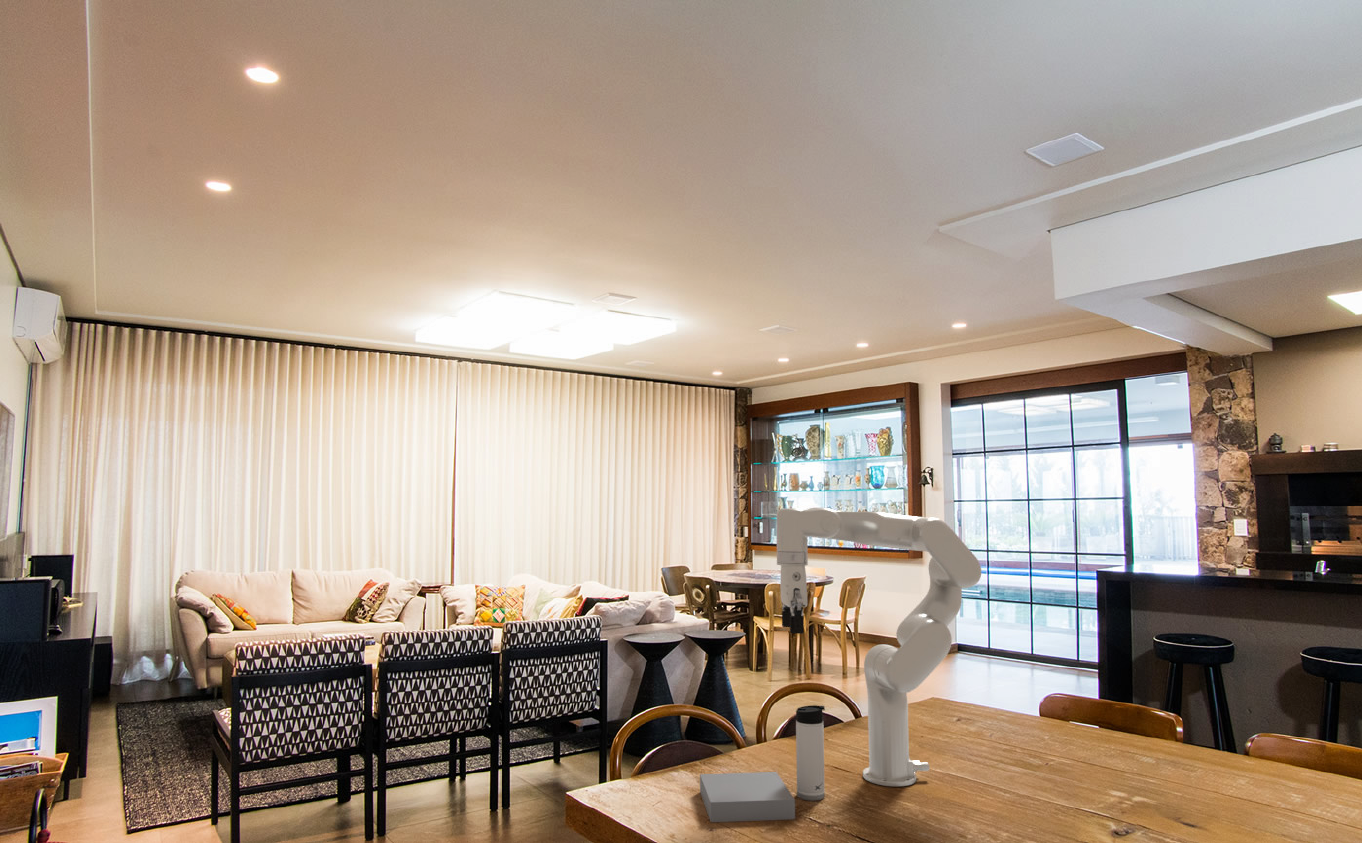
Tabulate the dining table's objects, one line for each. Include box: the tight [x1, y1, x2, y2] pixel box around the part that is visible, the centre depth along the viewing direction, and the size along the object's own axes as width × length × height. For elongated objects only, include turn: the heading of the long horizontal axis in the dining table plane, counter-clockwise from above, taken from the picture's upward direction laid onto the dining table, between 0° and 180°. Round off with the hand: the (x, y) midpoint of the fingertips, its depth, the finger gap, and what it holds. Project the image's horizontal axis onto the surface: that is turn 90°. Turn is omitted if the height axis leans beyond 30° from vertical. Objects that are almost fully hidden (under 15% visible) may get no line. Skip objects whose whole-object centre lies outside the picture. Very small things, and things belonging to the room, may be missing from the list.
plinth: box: [699, 771, 796, 823], centre depth 179 cm, size 18×18×4 cm
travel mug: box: [795, 704, 826, 802], centre depth 186 cm, size 6×7×20 cm
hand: (792, 630), depth 197 cm, fingers open, 9 cm apart
